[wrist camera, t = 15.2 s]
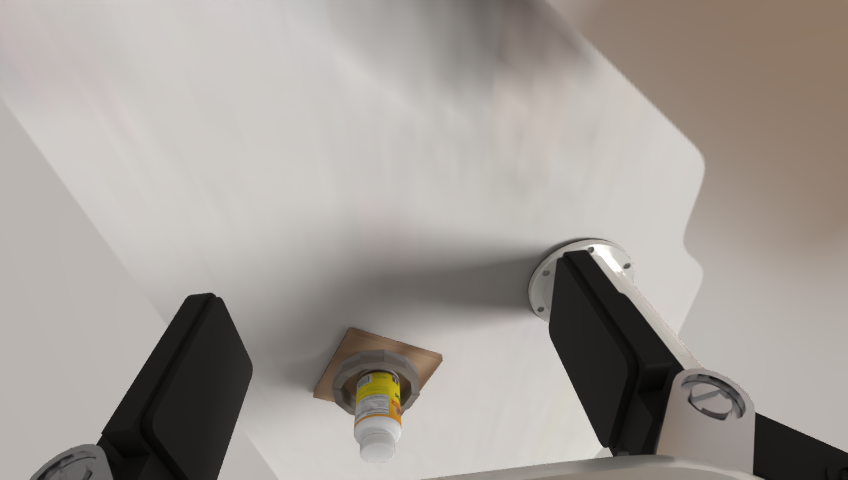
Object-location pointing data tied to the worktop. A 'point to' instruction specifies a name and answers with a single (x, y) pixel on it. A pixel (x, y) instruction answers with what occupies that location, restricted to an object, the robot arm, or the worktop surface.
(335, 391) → the rosette collar
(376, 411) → the supplement bottle
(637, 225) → the worktop surface
